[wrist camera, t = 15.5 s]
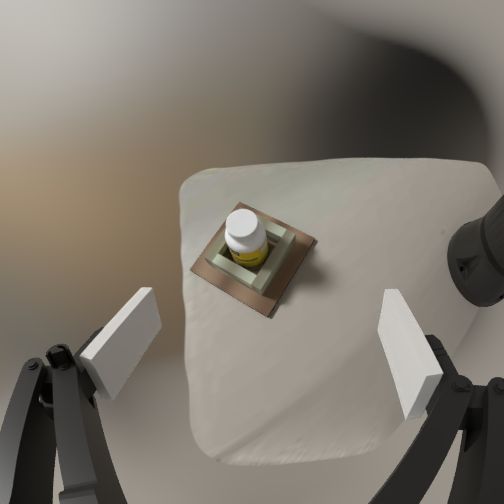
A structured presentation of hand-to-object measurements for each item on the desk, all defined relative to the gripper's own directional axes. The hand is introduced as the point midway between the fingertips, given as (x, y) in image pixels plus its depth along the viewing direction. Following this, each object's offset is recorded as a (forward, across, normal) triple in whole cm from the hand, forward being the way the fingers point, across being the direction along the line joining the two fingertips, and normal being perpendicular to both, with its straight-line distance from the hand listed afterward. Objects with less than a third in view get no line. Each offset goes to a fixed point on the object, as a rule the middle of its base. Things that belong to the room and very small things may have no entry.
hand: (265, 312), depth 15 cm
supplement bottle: (+27, -5, -8) cm, 29 cm away
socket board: (+28, -5, -8) cm, 29 cm away
